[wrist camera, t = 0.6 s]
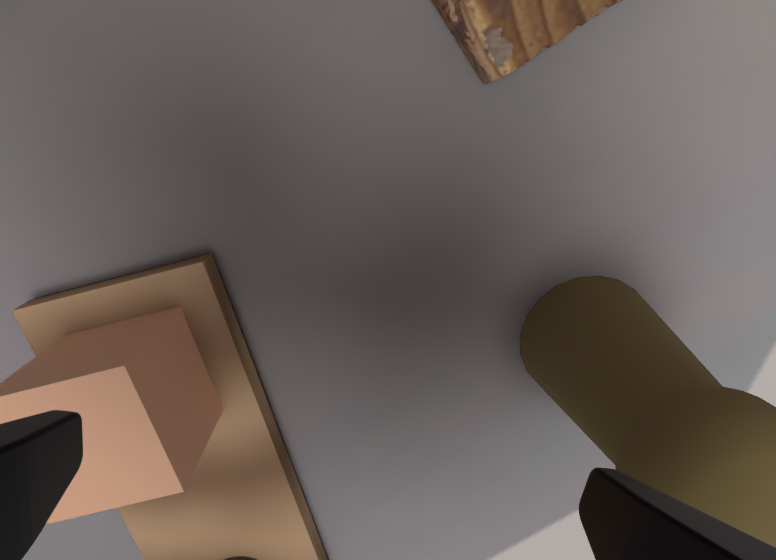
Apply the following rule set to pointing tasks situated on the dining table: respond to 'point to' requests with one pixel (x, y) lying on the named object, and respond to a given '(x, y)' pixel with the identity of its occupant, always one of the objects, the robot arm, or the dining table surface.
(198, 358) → the cube
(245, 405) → the wooden base with cylinder
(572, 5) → the bird sculpture
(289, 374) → the dining table surface
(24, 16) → the dining table surface
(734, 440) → the cork
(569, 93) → the dining table surface
